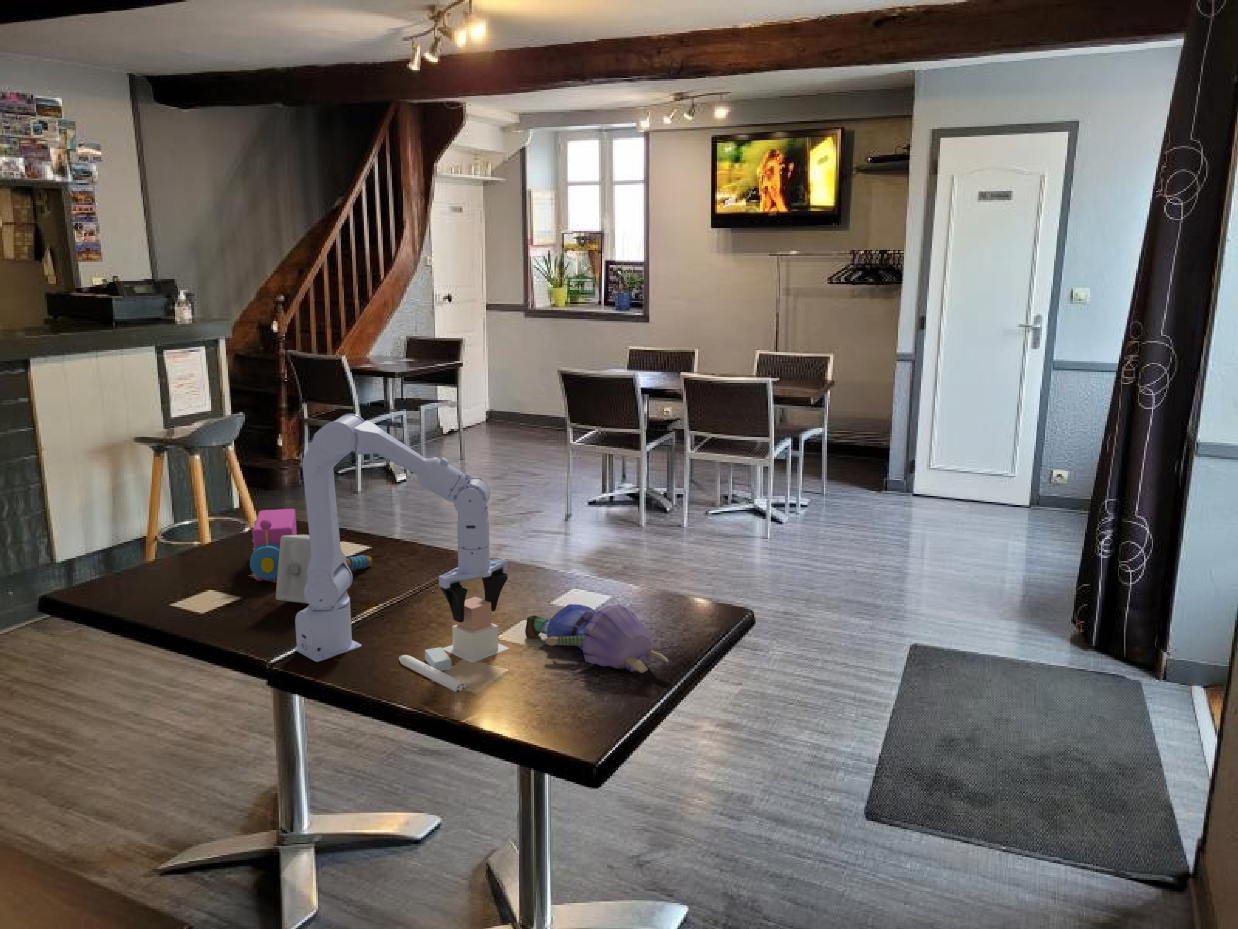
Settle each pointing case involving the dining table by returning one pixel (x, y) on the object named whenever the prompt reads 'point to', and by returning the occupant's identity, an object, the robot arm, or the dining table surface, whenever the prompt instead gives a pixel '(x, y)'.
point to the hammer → (302, 567)
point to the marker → (432, 673)
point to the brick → (438, 659)
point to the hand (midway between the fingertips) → (475, 615)
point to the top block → (476, 614)
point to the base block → (475, 640)
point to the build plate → (472, 660)
